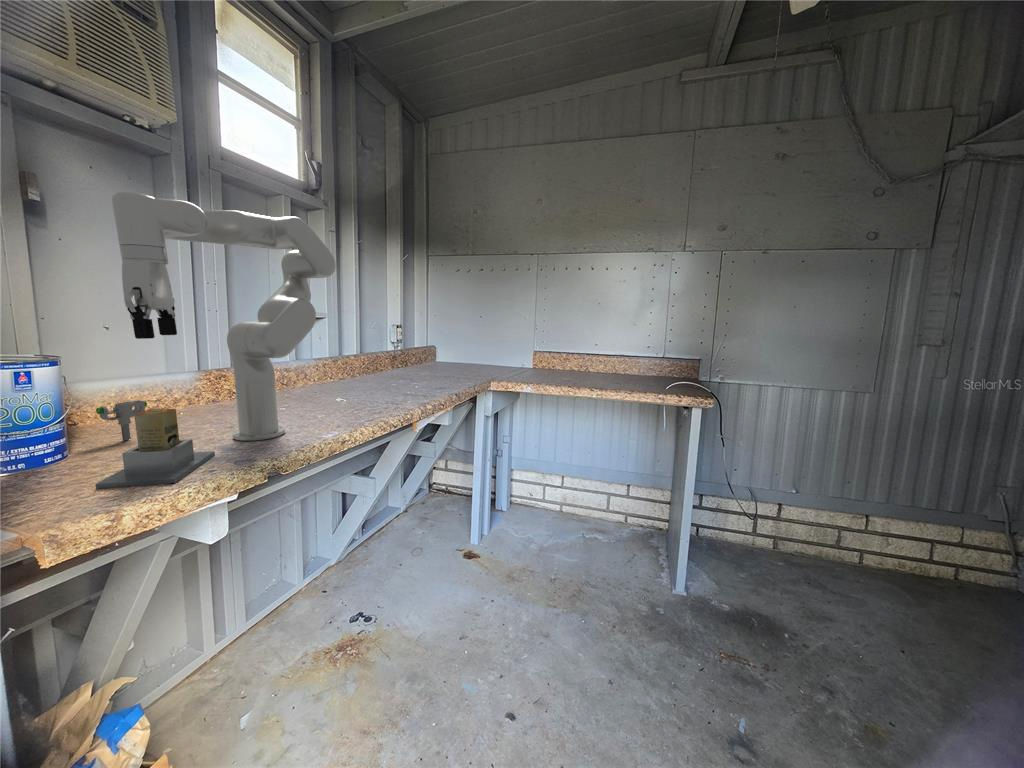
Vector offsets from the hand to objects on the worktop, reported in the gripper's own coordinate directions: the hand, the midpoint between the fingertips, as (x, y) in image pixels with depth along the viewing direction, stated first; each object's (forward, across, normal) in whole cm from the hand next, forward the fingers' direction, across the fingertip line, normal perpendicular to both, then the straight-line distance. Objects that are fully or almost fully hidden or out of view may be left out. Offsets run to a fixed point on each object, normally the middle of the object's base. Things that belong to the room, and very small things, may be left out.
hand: (157, 336), depth 92 cm
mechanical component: (+29, -20, -19) cm, 40 cm away
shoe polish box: (+27, +8, +1) cm, 29 cm away
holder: (+28, +8, +1) cm, 29 cm away
